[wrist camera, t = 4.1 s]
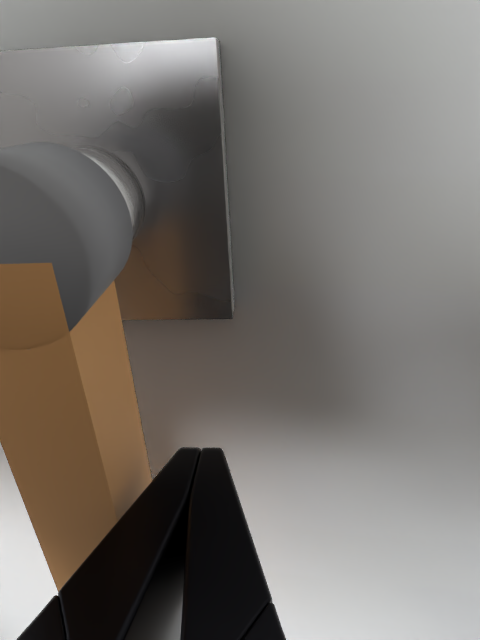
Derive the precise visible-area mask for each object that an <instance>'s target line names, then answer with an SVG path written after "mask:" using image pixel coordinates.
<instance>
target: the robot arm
mask: <svg viewBox="0 0 480 640" xmlns="http://www.w3.org/2000/svg"><path fill="white" fill-rule="evenodd" d="M58 596H59V597H58ZM58 596H54V597H53V598H52V599H51V601H50V602H49V603H48V604H47V605H46V606H45V608H44V609H43V610H42V611H41V612H40V613H39V615H38V616H37V617H36V618H35V619H34V620H33V621H32V623H31V624H30V625H29V626H28V627H27V628H26V629H25V631H24V632H23V633H22V634H21V635H20V636H19V637H18V638H17V640H286V638H285V635H284V633H283V630H282V627H281V624H280V621H279V618H278V615H277V612H276V609H275V606H274V604H273V603H272V597H271V594H270V591H269V588H268V585H267V582H266V579H265V576H264V573H263V570H262V567H261V564H260V561H259V558H258V555H257V552H256V549H255V546H254V543H253V540H252V537H251V534H250V531H249V528H248V525H247V522H246V518H245V515H244V512H243V509H242V506H241V503H240V500H239V497H238V494H237V491H236V488H235V485H234V482H233V479H232V476H231V473H230V470H229V467H228V464H227V461H226V458H225V455H224V452H223V450H222V449H221V448H203V449H202V450H201V449H200V448H189V447H183V448H180V449H179V450H178V451H177V452H176V453H175V455H174V456H173V457H172V458H171V459H170V461H169V462H168V463H167V464H166V465H165V466H164V468H163V469H162V470H161V471H160V472H159V473H158V475H157V476H156V477H155V478H154V479H153V481H152V482H151V483H150V484H149V485H148V486H147V488H146V489H145V490H144V491H143V492H142V494H141V495H140V496H139V497H138V498H137V499H136V501H135V502H134V503H133V504H132V505H131V506H130V508H129V509H128V510H127V511H126V512H125V514H124V515H123V516H122V517H121V518H120V519H119V521H118V522H117V523H116V524H115V525H114V527H113V528H112V529H111V530H110V531H109V532H108V534H107V535H106V536H105V537H104V538H103V540H102V541H101V542H100V543H99V544H98V545H97V547H96V548H95V549H94V550H93V551H92V552H91V554H90V555H89V556H88V557H87V558H86V560H85V561H84V562H83V563H82V564H81V565H80V567H79V568H78V569H77V570H76V571H75V573H74V574H73V575H72V576H71V577H70V578H69V580H68V581H67V582H66V583H65V584H64V585H63V587H62V588H61V589H60V590H59V592H58Z"/></svg>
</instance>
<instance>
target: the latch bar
mask: <svg viewBox="0 0 480 640" xmlns="http://www.w3.org/2000/svg"><path fill="white" fill-rule="evenodd" d="M132 237H133V230H132V221H131V217H130V212H129V210H128V207H127V204H126V201H125V199H124V197H123V195H122V193H121V191H120V190H119V188H118V187H117V185H116V184H115V182H114V181H113V180H112V179H111V177H110V176H109V175H108V174H107V173H106V172H105V171H104V170H103V169H102V168H101V167H100V166H99V165H98V164H96V163H95V162H94V161H93V160H91V159H90V158H88V157H87V156H85V155H83V154H82V153H80V152H78V151H76V150H74V149H71V148H69V147H66V146H63V145H59V144H54V143H48V142H33V143H26V144H21V145H16V146H11V147H6V148H1V149H0V442H1V445H2V447H3V450H4V452H5V455H6V458H7V460H8V463H9V465H10V468H11V471H12V473H13V476H14V478H15V481H16V484H17V486H18V489H19V491H20V494H21V496H22V499H23V502H24V504H25V507H26V509H27V512H28V515H29V517H30V520H31V522H32V525H33V528H34V530H35V533H36V535H37V538H38V540H39V543H40V546H41V548H42V551H43V553H44V556H45V559H46V561H47V564H48V566H49V569H50V572H51V574H52V577H53V579H54V582H55V584H56V587H57V590H58V592H59V590H60V589H61V588H62V587H63V585H64V584H65V583H66V582H67V581H68V580H69V578H70V577H71V576H72V575H73V574H74V573H75V571H76V570H77V569H78V568H79V567H80V565H81V564H82V563H83V562H84V561H85V560H86V558H87V557H88V556H89V555H90V554H91V552H92V551H93V550H94V549H95V548H96V547H97V545H98V544H99V543H100V542H101V541H102V540H103V538H104V537H105V536H106V535H107V534H108V532H109V531H110V530H111V529H112V528H113V527H114V525H115V524H116V523H117V522H118V521H119V519H120V518H121V517H122V516H123V515H124V514H125V512H126V511H127V510H128V509H129V508H130V506H131V505H132V504H133V503H134V502H135V501H136V499H137V498H138V497H139V496H140V495H141V494H142V492H143V491H144V490H145V489H146V488H147V486H148V485H149V484H150V483H151V482H152V477H151V472H150V466H149V461H148V456H147V451H146V445H145V440H144V435H143V430H142V424H141V419H140V414H139V409H138V403H137V398H136V393H135V387H134V382H133V377H132V372H131V366H130V361H129V356H128V351H127V345H126V340H125V335H124V329H123V324H122V319H121V314H120V308H119V303H118V298H117V293H116V287H115V282H114V280H115V278H116V277H117V276H118V275H119V274H120V272H121V271H122V269H123V268H124V266H125V264H126V262H127V260H128V258H129V255H130V252H131V247H132Z"/></svg>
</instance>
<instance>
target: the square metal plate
mask: <svg viewBox="0 0 480 640" xmlns="http://www.w3.org/2000/svg"><path fill="white" fill-rule="evenodd" d="M33 142H48V143H54V144H59V145H63V146H66V147H69V148H71V149H74V150H76V151H78V152H80V153H82V154H83V155H85V156H87V157H88V158H90V159H91V160H93V161H94V162H95V163H96V164H98V165H99V166H100V167H101V168H102V169H103V170H104V171H105V172H106V173H107V174H108V175H109V176H110V177H111V179H112V180H113V181H114V182H115V184H116V185H117V187H118V188H119V190H120V191H121V193H122V195H123V197H124V199H125V201H126V204H127V207H128V210H129V212H130V217H131V221H132V230H133V237H132V247H131V252H130V255H129V258H128V260H127V262H126V264H125V266H124V268H123V269H122V271H121V272H120V274H119V275H118V276H117V277H116V278H115V280H114V282H115V287H116V293H117V298H118V303H119V308H120V314H121V319H122V320H165V319H233V313H234V307H235V305H234V287H233V270H232V252H231V235H230V217H229V200H228V182H227V165H226V147H225V130H224V112H223V95H222V77H221V60H220V42H219V40H218V39H217V38H216V37H213V38H197V39H180V40H164V41H148V42H132V43H116V44H100V45H84V46H68V47H52V48H36V49H20V50H4V51H0V149H1V148H6V147H11V146H16V145H21V144H26V143H33Z"/></svg>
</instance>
